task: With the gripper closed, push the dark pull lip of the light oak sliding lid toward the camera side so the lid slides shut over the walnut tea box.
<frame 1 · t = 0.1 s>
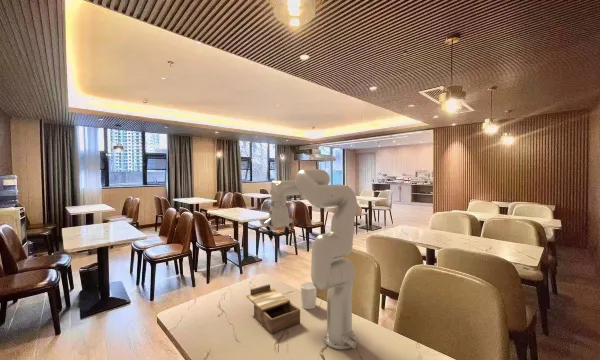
hand: (278, 237, 140), 31 cm above the table, fingers open, 9 cm apart
white cup: (308, 306, 131), on the table
tea box lid: (267, 296, 125), point 8 cm above the table, slide at 8.0 cm
tea box: (276, 320, 118), on the table
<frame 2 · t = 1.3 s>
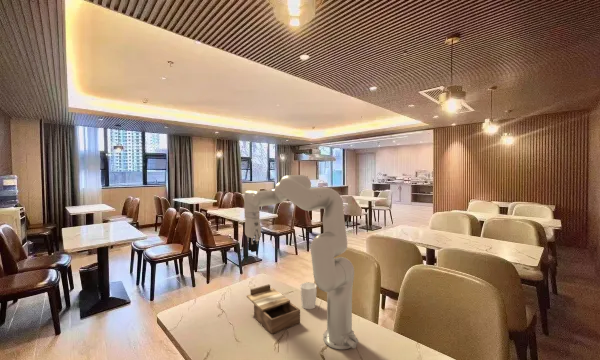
hand: (252, 250, 137), 25 cm above the table, fingers closed
nothing on the table moved.
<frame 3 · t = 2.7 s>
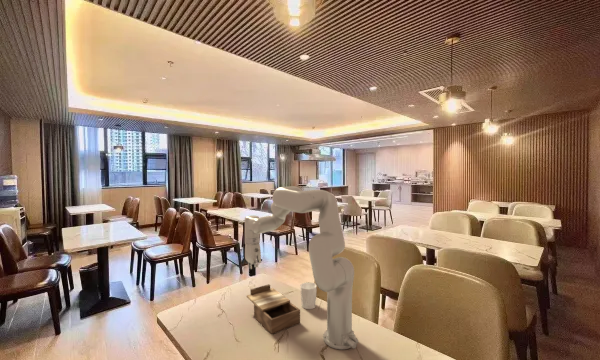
hand: (252, 275, 138), 12 cm above the table, fingers closed
nothing on the table moved.
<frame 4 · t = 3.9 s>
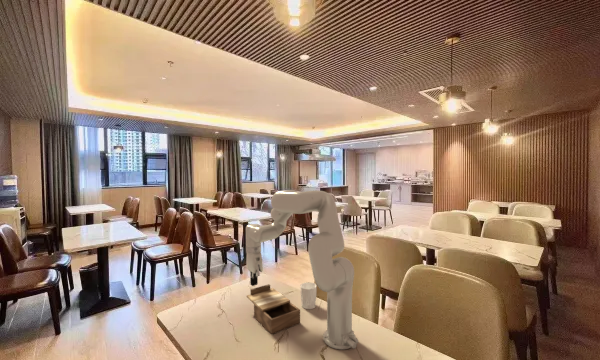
hand: (254, 284, 137), 8 cm above the table, fingers closed
nothing on the table moved.
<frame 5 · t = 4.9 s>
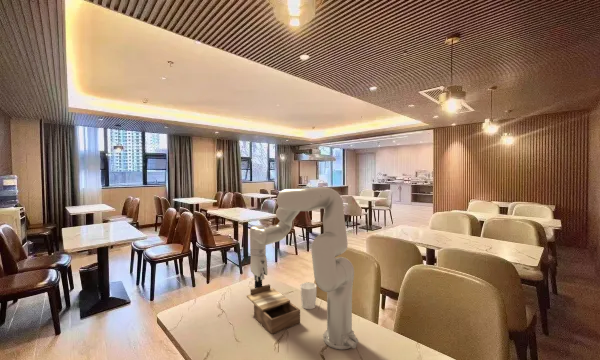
hand: (258, 288, 132), 8 cm above the table, fingers closed
tea box lid: (267, 296, 125), point 8 cm above the table, slide at 8.0 cm, touching gripper
everything else where it was.
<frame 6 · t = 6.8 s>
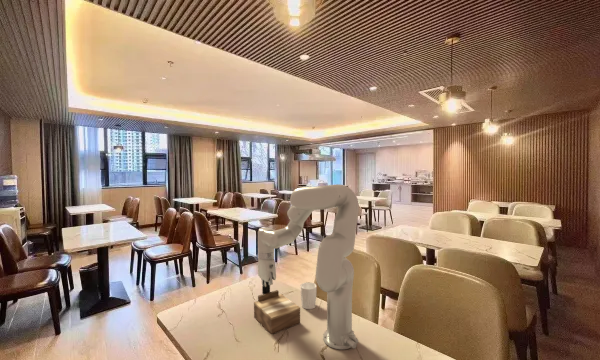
hand: (266, 293, 126), 8 cm above the table, fingers closed
tea box lid: (276, 303, 118), point 8 cm above the table, slide at -0.1 cm, touching gripper
everything else where it was.
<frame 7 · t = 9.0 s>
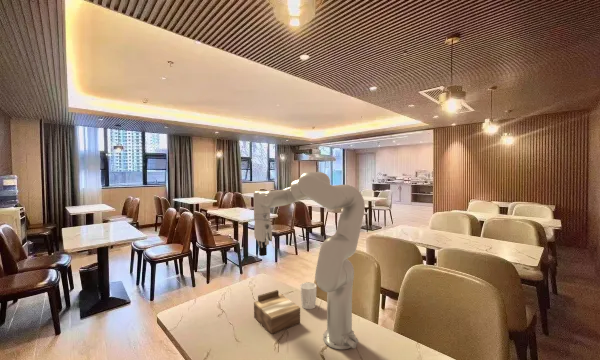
hand: (262, 255, 128), 26 cm above the table, fingers closed
tea box lid: (276, 302, 118), point 8 cm above the table, slide at 0.0 cm
everything else where it was.
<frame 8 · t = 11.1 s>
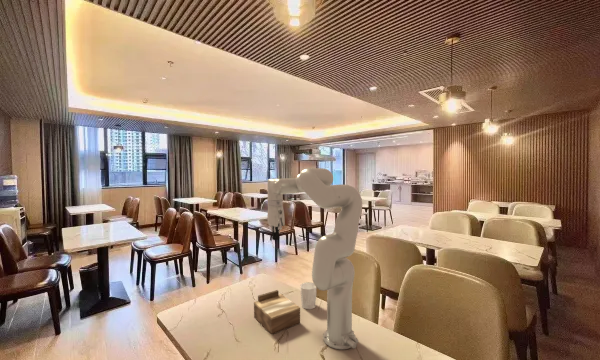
hand: (275, 239, 136), 31 cm above the table, fingers closed
nothing on the table moved.
at the end: tea box lid slide at 0.0 cm; white cup moved 0.2 cm from its start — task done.
